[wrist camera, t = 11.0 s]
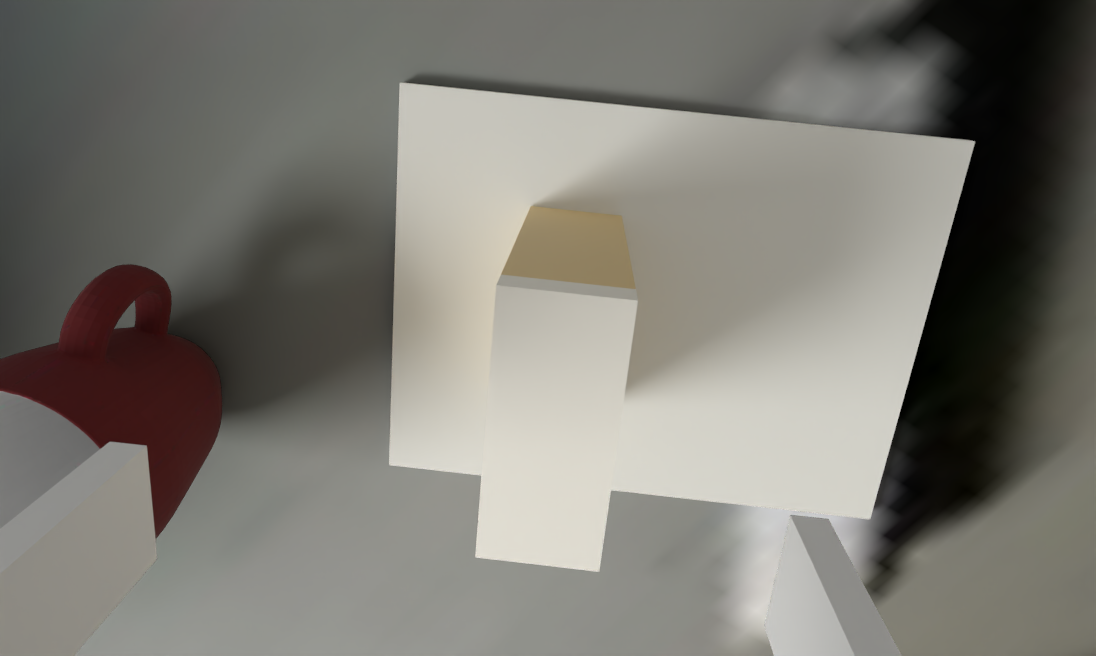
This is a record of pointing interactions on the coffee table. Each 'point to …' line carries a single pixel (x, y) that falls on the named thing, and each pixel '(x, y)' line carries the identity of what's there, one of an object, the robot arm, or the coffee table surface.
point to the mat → (681, 284)
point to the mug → (108, 396)
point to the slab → (556, 389)
